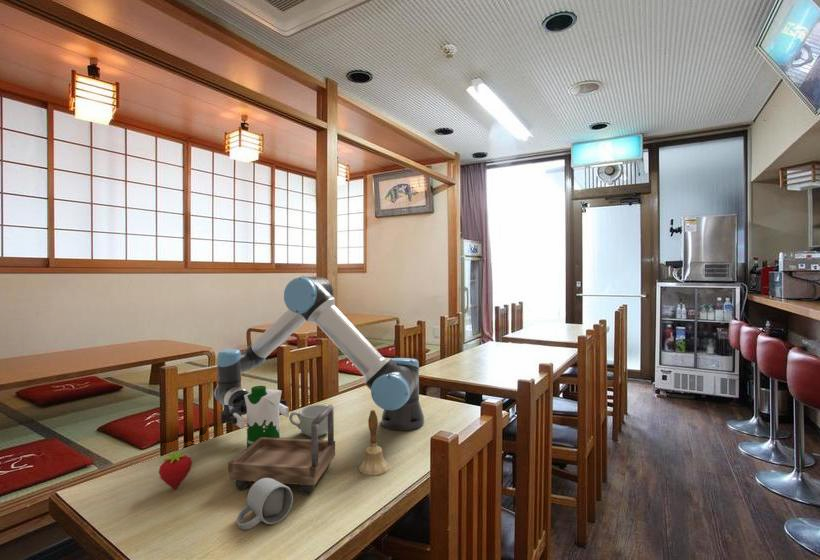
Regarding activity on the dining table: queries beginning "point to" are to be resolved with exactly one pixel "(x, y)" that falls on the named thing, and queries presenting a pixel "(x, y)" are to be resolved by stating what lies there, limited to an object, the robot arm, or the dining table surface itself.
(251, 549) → the dining table surface
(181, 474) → the strawberry
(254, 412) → the soya milk
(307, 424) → the teacup
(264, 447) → the walnut cart
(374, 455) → the hand bell
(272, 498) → the ceramic mug
